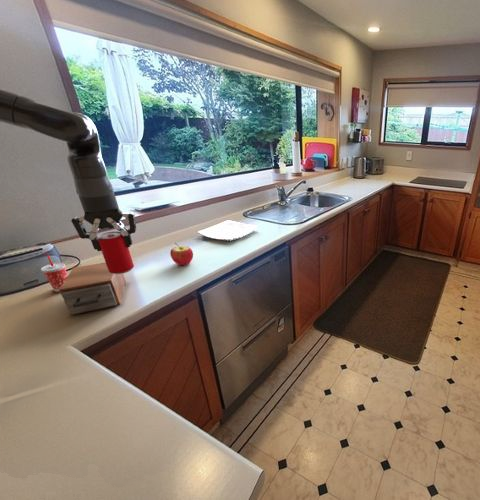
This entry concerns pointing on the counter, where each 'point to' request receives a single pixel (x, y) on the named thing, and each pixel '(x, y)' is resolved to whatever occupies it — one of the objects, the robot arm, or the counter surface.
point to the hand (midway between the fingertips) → (114, 248)
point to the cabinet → (94, 280)
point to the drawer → (89, 298)
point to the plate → (228, 230)
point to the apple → (181, 255)
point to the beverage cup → (55, 274)
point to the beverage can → (115, 252)
